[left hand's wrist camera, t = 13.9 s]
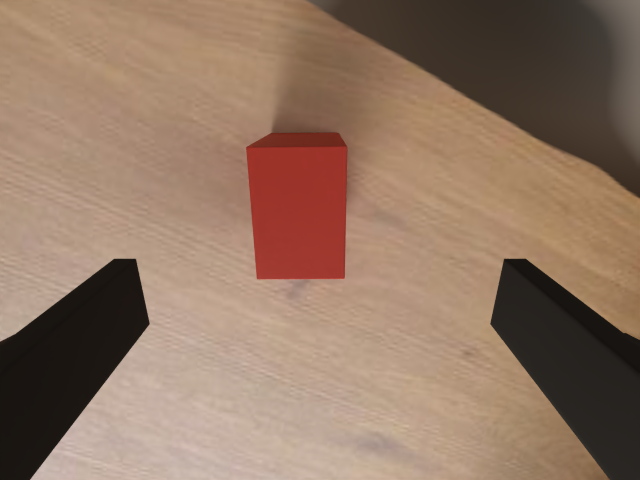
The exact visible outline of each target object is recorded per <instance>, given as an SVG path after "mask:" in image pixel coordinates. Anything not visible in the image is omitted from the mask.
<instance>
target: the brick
mask: <svg viewBox="0 0 640 480" xmlns="http://www.w3.org/2000/svg"><path fill="white" fill-rule="evenodd" d="M246 150H247V162H248V174H249V187H250V199H251V211H252V224H253V236H254V248H255V261H256V273H257V279H344V278H345V234H346V184H347V146H346V144H345V143H344V141H343V139H342V138H341V136H340V135H339V133H271V134H269V135H267V136H265V137H264V138H262V139H260V140H258V141H257V142H255V143H253V144H251V145H249V146H248V147H247V148H246Z"/></svg>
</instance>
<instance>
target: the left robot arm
mask: <svg viewBox="0 0 640 480" xmlns="http://www.w3.org/2000/svg"><path fill="white" fill-rule="evenodd" d="M149 324H150V323H149V319H148V314H147V309H146V304H145V300H144V295H143V290H142V286H141V281H140V276H139V271H138V267H137V262H136V259H113V260H112V261H111V262H110V263H108V264H107V265H106V266H104V267H103V268H102V269H100V270H99V271H98V272H96V273H95V274H94V275H92V276H91V277H90V278H88V279H87V280H86V281H85V282H83V283H82V284H81V285H79V286H78V287H77V288H75V289H74V290H73V291H71V292H70V293H69V294H67V295H66V296H65V297H64V298H62V299H61V300H60V301H58V302H57V303H56V304H54V305H53V306H52V307H50V308H49V309H48V310H46V311H45V312H44V313H42V314H41V315H40V316H39V317H37V318H36V319H35V320H33V321H32V322H31V323H29V324H28V325H27V326H25V327H24V328H23V329H21V330H20V331H19V332H17V333H16V334H14V335H12V336H11V337H9V338H7V339H5V340H3V341H1V342H0V480H30V479H31V478H32V476H33V475H34V474H35V473H36V471H37V470H38V469H39V467H40V466H41V465H42V463H43V462H44V461H45V459H46V458H47V457H48V456H49V454H50V453H51V452H52V450H53V449H54V448H55V446H56V445H57V444H58V443H59V441H60V440H61V439H62V437H63V436H64V435H65V433H66V432H67V431H68V430H69V428H70V427H71V426H72V424H73V423H74V422H75V420H76V419H77V418H78V417H79V415H80V414H81V413H82V411H83V410H84V409H85V407H86V406H87V405H88V404H89V402H90V401H91V400H92V398H93V397H94V396H95V394H96V393H97V392H98V391H99V389H100V388H101V387H102V385H103V384H104V383H105V381H106V380H107V379H108V378H109V376H110V375H111V374H112V372H113V371H114V370H115V368H116V367H117V366H118V365H119V363H120V362H121V361H122V359H123V358H124V357H125V355H126V354H127V353H128V352H129V350H130V349H131V348H132V346H133V345H134V344H135V342H136V341H137V340H138V339H139V337H140V336H141V335H142V333H143V332H144V331H145V329H146V328H147V327H148V325H149ZM490 324H491V325H492V327H493V328H494V329H495V331H496V332H497V333H498V335H499V336H500V337H501V339H502V340H503V341H504V342H505V344H506V345H507V346H508V348H509V349H510V350H511V352H512V353H513V354H514V355H515V357H516V358H517V359H518V361H519V362H520V363H521V365H522V366H523V367H524V368H525V370H526V371H527V372H528V374H529V375H530V376H531V378H532V379H533V380H534V381H535V383H536V384H537V385H538V387H539V388H540V389H541V391H542V392H543V393H544V394H545V396H546V397H547V398H548V400H549V401H550V402H551V404H552V405H553V406H554V407H555V409H556V410H557V411H558V413H559V414H560V415H561V417H562V418H563V419H564V420H565V422H566V423H567V424H568V426H569V427H570V428H571V430H572V431H573V432H574V433H575V435H576V436H577V437H578V439H579V440H580V441H581V443H582V444H583V445H584V446H585V448H586V449H587V450H588V452H589V453H590V454H591V456H592V457H593V458H594V459H595V461H596V462H597V463H598V465H599V466H600V467H601V469H602V470H603V471H604V473H605V474H606V475H607V476H608V478H609V479H610V480H640V340H638V339H636V338H634V337H632V336H630V335H628V334H627V333H623V332H621V331H620V330H619V329H617V328H616V327H615V326H613V325H612V324H611V323H609V322H608V321H607V320H605V319H604V318H603V317H601V316H600V315H599V314H598V313H596V312H595V311H594V310H592V309H591V308H590V307H588V306H587V305H586V304H584V303H583V302H582V301H580V300H579V299H578V298H576V297H575V296H574V295H573V294H571V293H570V292H569V291H567V290H566V289H565V288H563V287H562V286H561V285H559V284H558V283H557V282H555V281H554V280H553V279H552V278H550V277H549V276H548V275H546V274H545V273H544V272H542V271H541V270H540V269H538V268H537V267H536V266H534V265H533V264H532V263H530V262H529V261H528V260H527V259H504V262H503V267H502V271H501V276H500V281H499V286H498V290H497V295H496V300H495V304H494V309H493V314H492V319H491V323H490Z"/></svg>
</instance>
